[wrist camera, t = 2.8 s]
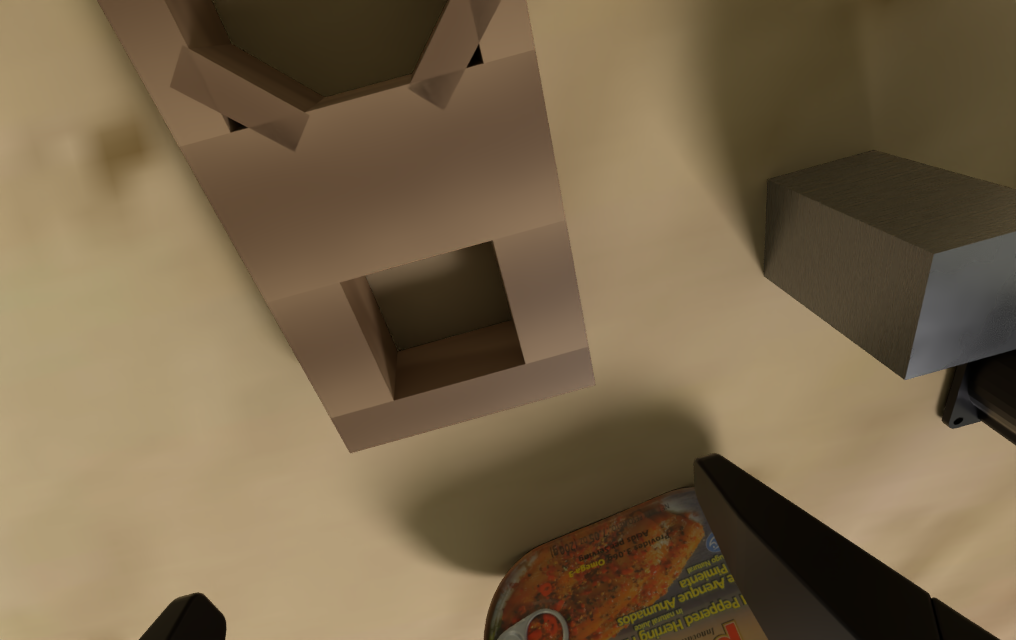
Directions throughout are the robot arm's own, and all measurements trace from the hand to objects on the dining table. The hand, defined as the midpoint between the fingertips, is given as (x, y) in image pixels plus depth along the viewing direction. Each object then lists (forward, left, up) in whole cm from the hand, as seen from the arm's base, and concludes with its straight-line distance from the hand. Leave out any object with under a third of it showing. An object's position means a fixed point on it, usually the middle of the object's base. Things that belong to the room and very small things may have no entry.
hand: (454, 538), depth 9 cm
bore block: (+5, 0, -11) cm, 12 cm away
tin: (-17, -4, -11) cm, 21 cm away
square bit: (-2, -14, -11) cm, 18 cm away
